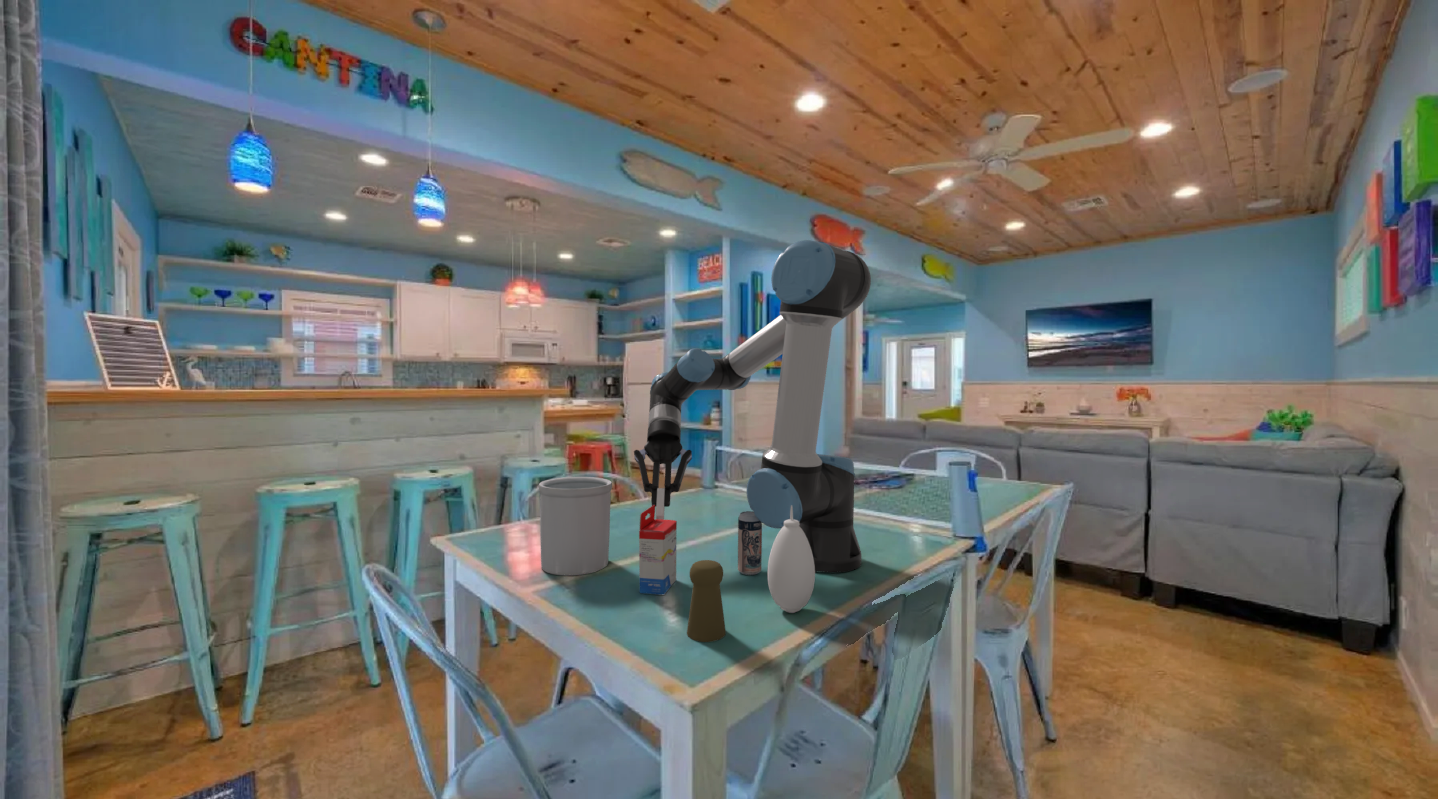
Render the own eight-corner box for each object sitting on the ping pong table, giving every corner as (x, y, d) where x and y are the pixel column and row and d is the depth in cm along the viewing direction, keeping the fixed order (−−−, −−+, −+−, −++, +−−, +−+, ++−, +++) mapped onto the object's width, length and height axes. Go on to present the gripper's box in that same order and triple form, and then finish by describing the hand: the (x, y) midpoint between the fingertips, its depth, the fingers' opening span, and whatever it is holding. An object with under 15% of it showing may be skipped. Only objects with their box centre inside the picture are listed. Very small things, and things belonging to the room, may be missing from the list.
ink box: (664, 596, 100) (664, 515, 99) (638, 593, 101) (638, 514, 100) (677, 579, 108) (677, 504, 108) (653, 577, 109) (653, 503, 109)
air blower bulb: (759, 613, 92) (760, 506, 92) (779, 598, 99) (780, 498, 98) (803, 624, 88) (804, 512, 88) (821, 607, 95) (822, 503, 94)
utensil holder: (587, 549, 127) (586, 473, 126) (626, 564, 117) (625, 482, 116) (526, 564, 116) (525, 481, 116) (563, 583, 106) (562, 492, 105)
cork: (686, 624, 88) (686, 556, 88) (723, 623, 89) (724, 555, 88) (687, 642, 82) (687, 569, 82) (727, 641, 83) (728, 568, 82)
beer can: (745, 577, 109) (745, 517, 109) (733, 570, 113) (733, 512, 113) (765, 574, 111) (766, 514, 111) (753, 566, 116) (754, 509, 115)
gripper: (692, 439, 130) (692, 528, 114) (637, 439, 129) (628, 529, 113) (692, 418, 125) (692, 508, 108) (634, 418, 124) (625, 509, 108)
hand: (659, 519), depth 111 cm, fingers closed
